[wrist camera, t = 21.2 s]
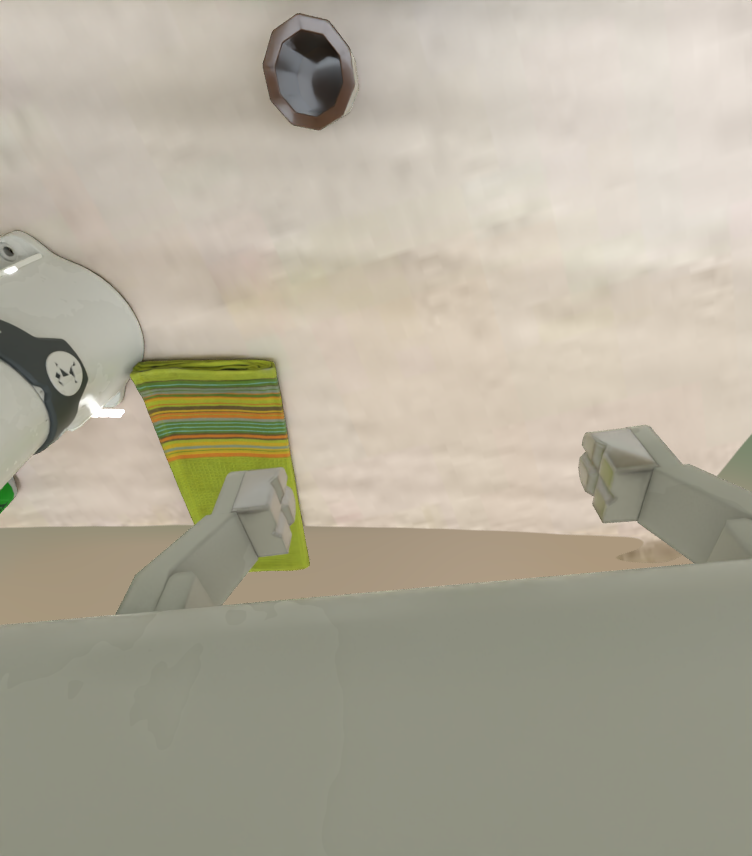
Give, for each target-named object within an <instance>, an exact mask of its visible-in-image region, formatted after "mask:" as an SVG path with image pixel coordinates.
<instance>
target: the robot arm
mask: <svg viewBox="0 0 752 856" xmlns="http://www.w3.org/2000/svg"><path fill="white" fill-rule="evenodd" d="M8 247H9V248H11V249H12V251H13V253H14V254H13V253H11V252H10V251H9V249H8ZM143 354H144V340H143V335H142V331H141V328H140V325H139V323H138V320H137V318H136V316H135V315H134V313H133V311H132V310H131V308H130V307H129V305H128V304H127V302H126V301H125V300H124V299H123V298H122V296H121V295H120V294H119V293H118V292H117V291H116V290H115V289H114V288H113V287H112V286H111V285H109V284H108V283H107V282H106V281H105V280H103V279H102V278H101V277H99V276H98V275H96V274H95V273H93V272H91V271H90V270H88V269H86V268H84V267H82V266H80V265H78V264H76V263H73V262H71V261H68V260H66V259H63V258H61V257H59V256H57V255H55V254H53V253H52V252H51V251H49V250H48V249H47V248H46V247H45V246H43V245H42V244H41V243H39V242H38V241H37V240H35V239H34V238H33V237H31V236H30V235H28V234H26V233H24V232H21V231H13V232H10V233H8V234H6V235H4V236H1V237H0V490H1V489H2V488H3V486H4V485H5V484H6V483H7V482H8V481H9V480H10V479H11V478H12V477H13V475H14V474H15V473H16V472H17V471H18V470H19V469H20V468H21V467H22V466H23V465H24V464H25V462H26V461H27V460H28V459H29V458H30V457H31V456H32V455H35V454H37V453H40V452H41V451H43V450H45V449H46V448H47V447H48V446H49V445H51V444H52V443H54V442H55V441H56V440H57V439H58V438H59V437H60V436H61V435H62V434H63V433H64V432H65V431H66V430H69V431H74V430H76V429H78V428H79V427H81V426H82V425H83V424H84V423H85V422H86V421H87V420H89V419H90V418H91V417H121V416H122V414H123V413H124V409H101V408H102V407H115V406H117V405H118V404H119V403H120V402H121V401H122V400H123V398H124V393H125V387H126V383H127V382H128V380H129V379H130V378H131V377H130V373H131V372H132V371H133V367H135V365H136V364H137V363H138V362H142V359H143ZM582 446H583V448H584V449H585V451H586V452H585V453H584V454H583V455H582V456H581V457H580V459H579V467H578V468H579V477H580V480H581V483H582V486H583V488H584V490H585V492H587V493H589V494H590V495H592V496H594V498H593V503H592V504H593V506H594V508H595V510H596V512H597V513H598V515H599V517H600V519H601V521H602V522H603V523H614V522H628V521H638V523H639V524H640V525H642V526H643V527H644V528H646V529H647V530H649V531H650V532H651V533H653V534H654V535H656V536H657V537H658V538H660V539H661V540H663V541H664V542H665V543H667V544H668V545H670V546H671V547H672V548H674V549H675V550H676V551H678V552H679V553H681V554H682V555H683V556H685V557H686V558H688V559H689V560H691V561H692V562H693V563H695V564H685V565H673V566H662V567H652V568H640V569H629V570H617V571H608V572H607V571H606V572H595V573H583V574H572V575H560V576H549V577H539V578H526V579H515V580H503V581H492V582H482V583H470V584H459V585H447V586H436V587H425V588H414V589H402V590H392V591H380V592H368V593H357V594H346V595H336V596H335V595H334V596H324V597H312V598H301V599H289V600H278V601H267V602H255V603H244V604H234V605H222V604H223V603H224V602H225V601H226V599H227V598H228V597H229V596H230V594H231V593H232V592H233V590H234V589H235V588H236V587H237V586H238V584H239V583H240V582H241V581H242V579H243V578H244V577H245V576H246V574H247V573H248V572H249V570H250V569H251V568H252V567H253V565H254V564H255V563H256V562H257V560H258V558H259V557H267V556H275V555H283V554H288V553H289V547H290V542H291V537H292V533H291V530H290V528H289V527H290V526H291V525H292V524H293V523H294V521H295V515H296V503H295V497H294V494H293V491H292V489H291V488H290V487H288V486H287V485H286V484H287V479H288V477H287V474H286V472H285V469H284V468H282V467H276V468H265V469H254V470H247V471H235V472H230V473H229V474H228V475H227V476H226V478H225V481H224V483H223V486H222V488H221V491H220V494H219V496H218V499H217V501H216V504H215V506H214V509H213V511H212V514H211V515H206V516H205V517H203V518H202V519H201V520H200V521H199V522H197V523H196V524H195V525H194V526H193V527H192V528H190V529H189V530H188V531H187V532H186V533H185V534H183V535H182V536H181V537H180V538H179V539H177V540H176V541H175V542H174V543H173V544H171V545H170V546H169V547H168V548H167V549H166V550H164V551H163V552H162V553H161V554H160V555H158V556H157V557H156V558H155V559H154V560H153V561H151V562H150V563H149V564H148V565H147V566H145V567H144V568H143V569H142V570H141V571H139V572H138V573H137V574H136V575H135V577H134V579H133V581H132V583H131V585H130V587H129V589H128V591H127V593H126V595H125V597H124V599H123V601H122V603H121V605H120V607H119V608H118V610H117V612H116V615H109V616H97V617H86V618H75V619H63V620H52V621H41V622H29V623H18V624H7V625H0V856H752V492H751V491H749V490H747V489H744V488H742V487H740V486H737V485H735V484H733V483H731V482H728V481H726V480H724V479H722V478H719V477H717V476H715V475H713V474H710V473H708V472H706V471H704V470H701V469H699V468H697V467H695V466H692V465H690V464H686V465H683V464H682V463H681V462H680V461H679V459H678V458H677V457H676V456H675V455H674V454H673V453H672V451H671V450H670V449H669V448H668V447H667V446H666V444H665V443H664V442H663V441H662V440H661V439H660V437H659V436H658V435H657V434H656V433H655V432H654V431H653V429H652V428H651V427H650V426H647V425H640V426H633V427H626V428H621V429H612V430H604V431H596V432H587V433H585V435H584V437H583V441H582Z"/></svg>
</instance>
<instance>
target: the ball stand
mask: <svg viewBox="0 0 752 856" xmlns="http://www.w3.org/2000/svg"><path fill="white" fill-rule="evenodd" d="M263 70H264V75H265V79H266V83H267V88H268V92H269V96H270V100H271V102H272V103H273V104H274V105H275V106H276V107H277V109H278V110H279V111H280V112H281V113H282V114H283V115H284V116H285V118H286V119H287V120H288V121H289V122H290V123H291V124H293V125H294V126H299V127H304V128H309V129H314V130H321V129H323V128H325V127H327V126H329V125H330V124H332V123H334V122H335V121H337V120H339V119H340V118H342V117H344V116H345V115H347V114H349V113H350V111H351V108H352V106H353V103H354V101H355V99H356V96H357V93H358V91H359V83H358V74H357V67H356V61H355V59H354V56H353V54H352V52H351V50H350V48H349V46H348V45H347V44H346V42H345V41H344V40H343V38H342V37H341V36H340V34H339V33H338V32H337V30H336V29H335V28H334V27H333V25H332V24H331V23H330V21H328V20H326V19H322V18H318V17H314V16H309V15H305V14H301V13H297V14H296V15H294V16H293V17H291V18H290V19H288V20H287V21H286V22H284V23H283V24H281V25H280V26H278V27H277V28H276V29H274V30H273V31H272V34H271V37H270V41H269V44H268V47H267V51H266V54H265V58H264V61H263Z"/></svg>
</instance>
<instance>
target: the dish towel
mask: <svg viewBox="0 0 752 856" xmlns="http://www.w3.org/2000/svg"><path fill="white" fill-rule="evenodd" d="M130 377H131V379H132V381H133V382H134V384H135V386H136V388H137V390H138V392H139V393H140V395H141V396H142V398H143V400H144V402H145V405H146V408H147V410H148V413H149V415H150V418H151V420H152V423H153V425H154V428H155V431H156V433H157V435H158V438H159V440H160V443H161V445H162V448H163V450H164V453H165V455H166V458H167V460H168V463H169V465H170V468H171V470H172V472H173V474H174V477H175V480H176V482H177V485H178V487H179V490H180V492H181V494H182V497H183V499H184V501H185V504H186V506H187V508H188V511H189V513H190V516H191V518H192V520H193V522H194V525H195V524H196V523H197V522H199V521H200V520H201V519H202V518H203V517H205V516H206V515H211V514H212V511H213V509H214V506H215V504H216V501H217V499H218V496H219V494H220V491H221V488H222V486H223V483H224V481H225V478H226V476H227V475H228V474H229V473H230V472H235V471H247V470H254V469H265V468H276V467H282V468H284V469H285V472H286V474H287V477H288V479H287V484H286V485H287V486H288V487H290V488H291V489H292V491H293V494H294V497H295V503H296V515H295V521H294V523H293V524H292V525H291V526H290V527H289V528H290V530H291V533H292V537H291V542H290V547H289V553H288V554H283V555H275V556H267V557H259V558H258V560H257V562H256V563H255V564H254V565H253V567H252V568H251V569H250V570H249V572H253V571H254V572H256V571H288V570H289V571H291V570H292V571H293V570H301V569H305V568H307V567H308V566H309V565H310V562H309V556H308V550H307V546H306V541H305V535H304V530H303V524H302V518H301V513H300V508H299V502H298V496H297V489H296V483H295V476H294V470H293V466H292V460H291V455H290V449H289V442H288V435H287V429H286V423H285V418H284V411H283V406H282V399H281V393H280V388H279V384H278V380H277V373H276V368H275V364H274V363H273V362H271V361H265V360H203V361H200V360H171V361H145V362H138V363H137V364H136V365H135V367H133V371H132V372H131V373H130Z"/></svg>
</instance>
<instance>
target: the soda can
mask: <svg viewBox="0 0 752 856" xmlns="http://www.w3.org/2000/svg"><path fill="white" fill-rule="evenodd" d="M16 494H17V488H16V485H15V480H14V478H13V477H12V478H11V479H10V480H9V481H8V482H7V483H6V484H5V485H4V486H3V488H2V489H1V490H0V513H1V512H2V511H3V510H4V509H5V508H6V507H7V506H8V504H9V503H10V502H11V501H12V500H13V499H14V498H15V497H16Z"/></svg>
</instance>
